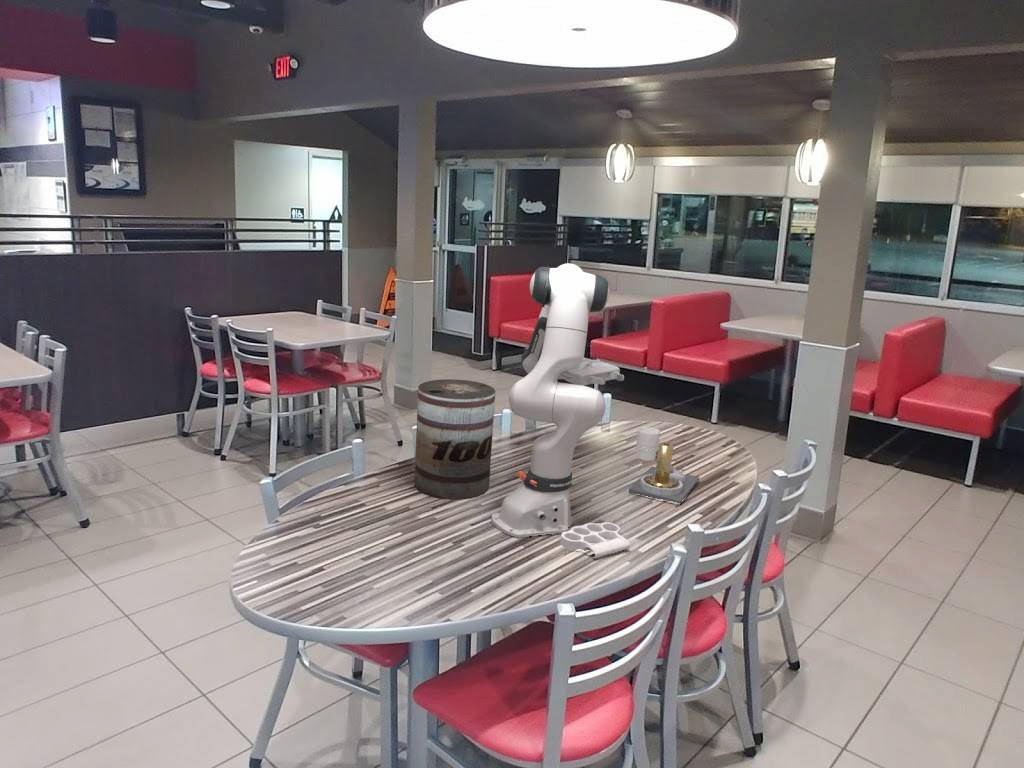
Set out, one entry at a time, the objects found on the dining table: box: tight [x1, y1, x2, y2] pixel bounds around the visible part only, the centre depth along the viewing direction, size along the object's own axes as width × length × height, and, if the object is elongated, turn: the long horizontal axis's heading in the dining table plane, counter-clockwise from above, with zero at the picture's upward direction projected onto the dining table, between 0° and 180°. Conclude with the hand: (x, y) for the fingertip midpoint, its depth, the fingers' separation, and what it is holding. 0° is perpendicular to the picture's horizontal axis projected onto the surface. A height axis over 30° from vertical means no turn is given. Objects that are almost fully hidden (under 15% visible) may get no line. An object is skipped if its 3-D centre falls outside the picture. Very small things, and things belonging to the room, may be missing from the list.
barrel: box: [413, 378, 497, 501], centre depth 224 cm, size 22×22×30 cm
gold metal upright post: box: [647, 441, 676, 489], centre depth 232 cm, size 9×9×14 cm
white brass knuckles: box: [559, 521, 631, 559], centre depth 196 cm, size 3×18×15 cm
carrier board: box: [628, 465, 700, 503], centre depth 238 cm, size 24×16×6 cm, turn 153°
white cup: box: [635, 426, 661, 462], centre depth 264 cm, size 8×8×10 cm
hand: (613, 380), depth 236 cm, fingers open, 8 cm apart
